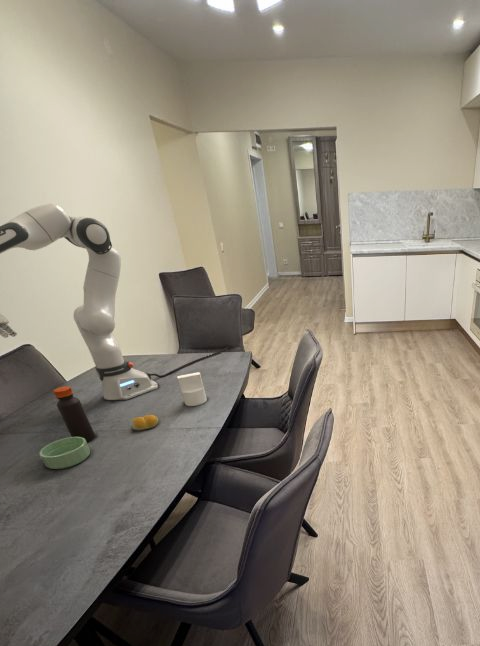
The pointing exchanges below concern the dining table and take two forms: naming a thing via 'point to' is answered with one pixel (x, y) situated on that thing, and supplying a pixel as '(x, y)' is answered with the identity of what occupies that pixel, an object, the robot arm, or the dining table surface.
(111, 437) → the dining table surface
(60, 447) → the bowl
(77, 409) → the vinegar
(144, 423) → the bread roll
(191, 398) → the cylinder with rectangular tab
